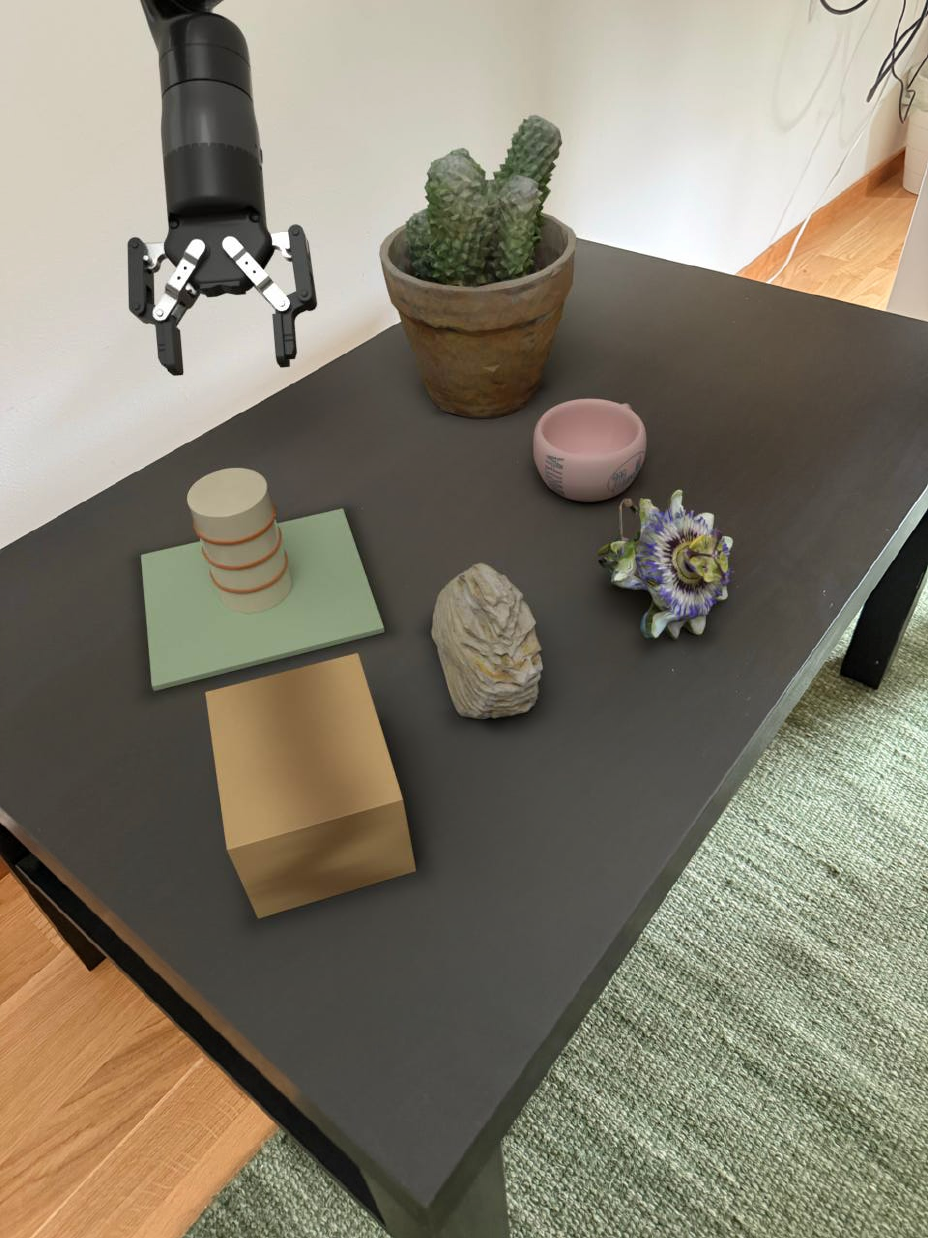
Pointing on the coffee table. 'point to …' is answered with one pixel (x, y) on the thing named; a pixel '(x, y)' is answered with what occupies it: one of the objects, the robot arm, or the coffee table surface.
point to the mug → (589, 448)
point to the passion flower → (671, 565)
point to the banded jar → (240, 539)
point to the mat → (228, 641)
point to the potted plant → (483, 276)
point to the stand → (307, 786)
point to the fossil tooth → (487, 644)
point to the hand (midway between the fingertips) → (229, 369)
